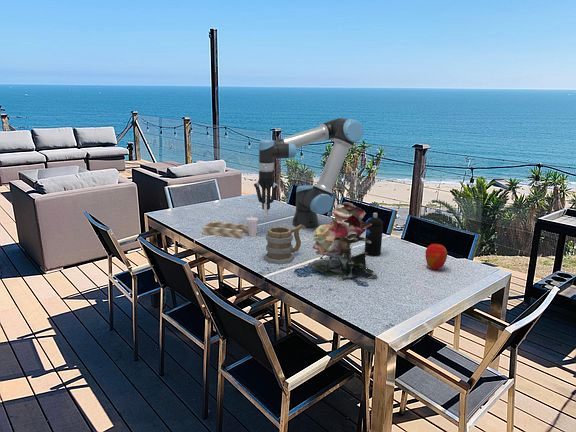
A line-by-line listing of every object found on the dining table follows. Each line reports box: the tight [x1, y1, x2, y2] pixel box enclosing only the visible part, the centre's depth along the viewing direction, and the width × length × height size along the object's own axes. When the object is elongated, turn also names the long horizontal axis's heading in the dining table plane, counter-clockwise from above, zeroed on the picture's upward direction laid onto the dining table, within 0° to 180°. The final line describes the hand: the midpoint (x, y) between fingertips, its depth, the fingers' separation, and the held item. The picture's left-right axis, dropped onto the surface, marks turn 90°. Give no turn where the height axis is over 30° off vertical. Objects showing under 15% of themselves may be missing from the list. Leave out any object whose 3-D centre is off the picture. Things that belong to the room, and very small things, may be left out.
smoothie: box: [246, 209, 259, 238], centre depth 232 cm, size 6×6×14 cm
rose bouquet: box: [311, 201, 386, 281], centre depth 187 cm, size 26×29×30 cm
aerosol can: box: [363, 212, 384, 257], centre depth 208 cm, size 8×8×20 cm
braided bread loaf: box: [202, 220, 249, 239], centre depth 237 cm, size 22×12×4 cm, turn 75°
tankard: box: [264, 224, 306, 265], centre depth 201 cm, size 20×13×15 cm, turn 117°
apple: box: [425, 243, 448, 271], centre depth 191 cm, size 9×9×12 cm
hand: (266, 215), depth 229 cm, fingers closed
